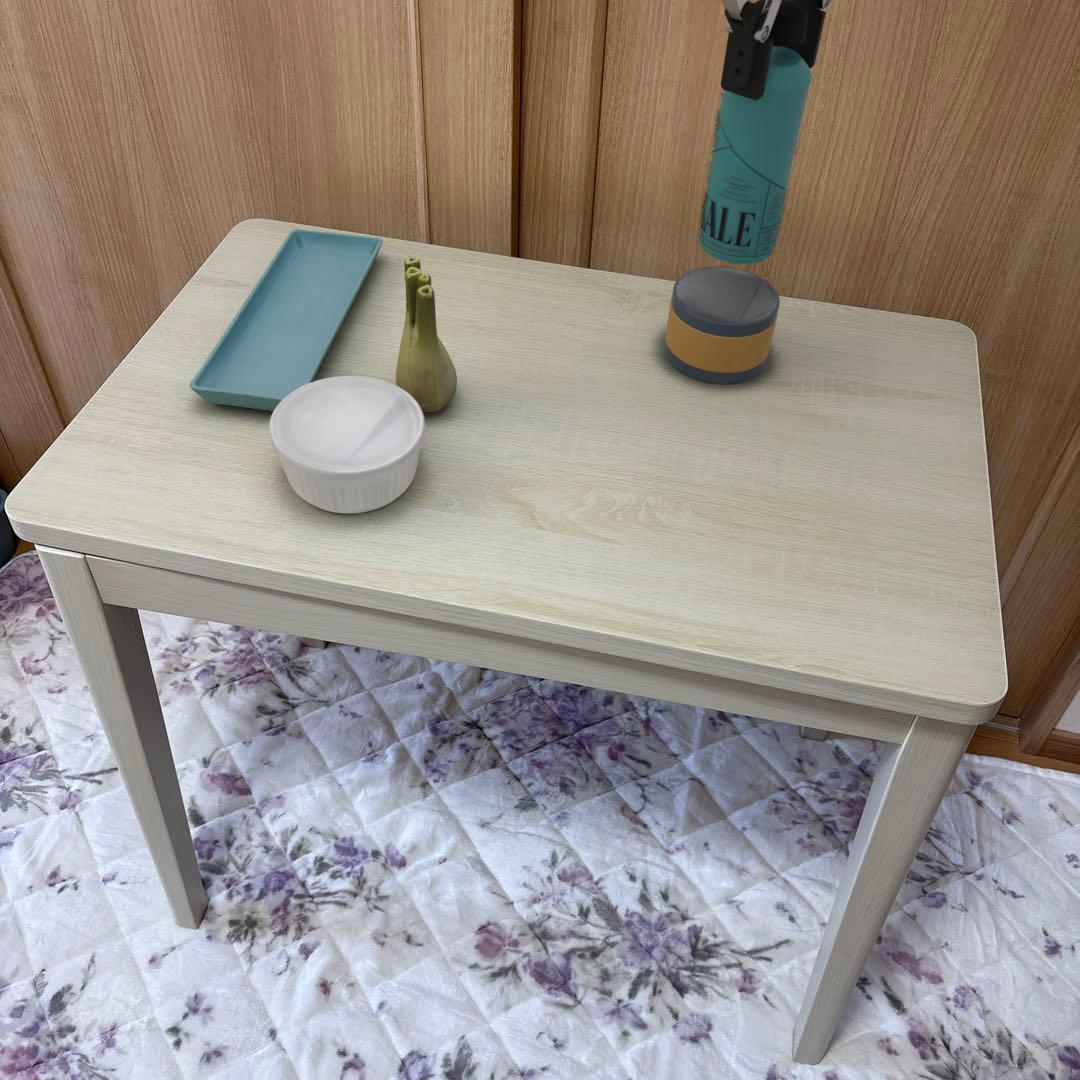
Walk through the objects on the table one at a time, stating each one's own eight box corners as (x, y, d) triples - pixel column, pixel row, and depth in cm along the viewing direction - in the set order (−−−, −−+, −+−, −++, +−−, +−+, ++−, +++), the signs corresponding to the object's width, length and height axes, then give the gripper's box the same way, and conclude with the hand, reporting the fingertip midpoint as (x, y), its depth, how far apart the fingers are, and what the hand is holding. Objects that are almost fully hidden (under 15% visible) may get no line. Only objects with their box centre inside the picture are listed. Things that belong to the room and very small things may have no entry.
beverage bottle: (770, 244, 89) (825, -10, 75) (775, 286, 84) (834, 24, 70) (693, 238, 89) (732, -17, 75) (693, 279, 85) (735, 16, 70)
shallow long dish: (294, 246, 103) (291, 223, 101) (385, 257, 102) (384, 234, 101) (192, 411, 85) (186, 387, 83) (302, 426, 84) (299, 401, 82)
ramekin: (433, 520, 77) (430, 466, 74) (277, 532, 76) (266, 478, 72) (421, 423, 85) (418, 370, 81) (279, 432, 83) (270, 378, 80)
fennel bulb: (407, 375, 89) (398, 248, 81) (463, 382, 89) (461, 255, 80) (389, 418, 85) (379, 289, 77) (449, 425, 85) (445, 297, 76)
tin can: (735, 316, 98) (747, 258, 93) (786, 373, 92) (801, 314, 87) (646, 334, 95) (654, 275, 91) (692, 393, 89) (703, 333, 85)
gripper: (810, -190, 57) (750, 133, 70) (942, -231, 67) (869, 59, 80) (693, -214, 60) (657, 99, 73) (836, -249, 70) (782, 32, 83)
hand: (768, 76), depth 76 cm, fingers closed on beverage bottle, 6 cm apart
